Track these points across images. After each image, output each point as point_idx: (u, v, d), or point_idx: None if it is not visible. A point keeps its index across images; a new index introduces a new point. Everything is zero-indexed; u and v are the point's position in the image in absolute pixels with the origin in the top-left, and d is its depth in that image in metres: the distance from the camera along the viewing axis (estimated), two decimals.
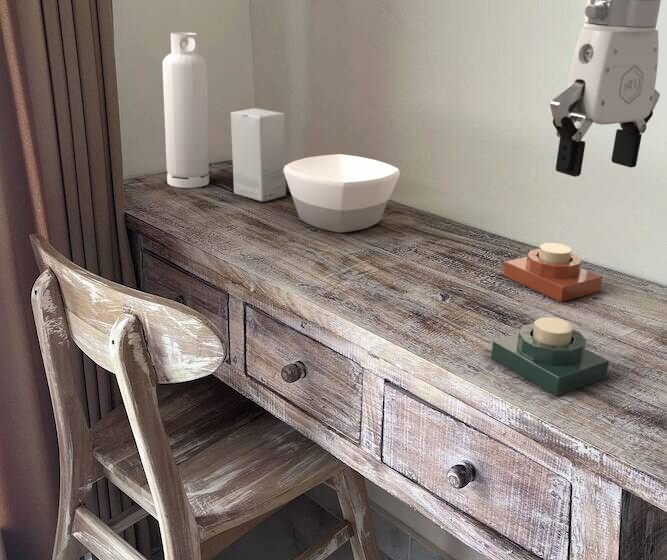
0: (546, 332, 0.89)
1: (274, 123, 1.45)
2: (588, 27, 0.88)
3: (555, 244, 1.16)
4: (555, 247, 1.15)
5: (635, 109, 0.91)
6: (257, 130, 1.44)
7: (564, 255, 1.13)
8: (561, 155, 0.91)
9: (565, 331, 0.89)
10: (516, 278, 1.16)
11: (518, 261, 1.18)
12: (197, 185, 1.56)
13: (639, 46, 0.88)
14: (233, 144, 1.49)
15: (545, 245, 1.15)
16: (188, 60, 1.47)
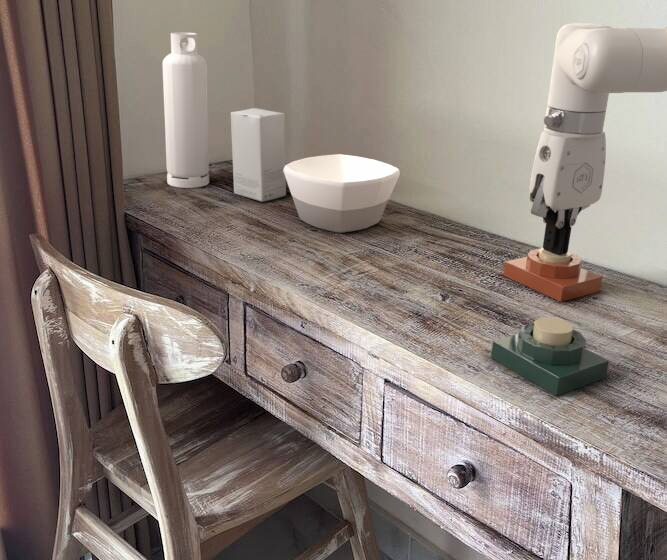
0: (546, 332, 0.89)
1: (274, 123, 1.45)
2: (547, 131, 1.07)
3: None
4: None
5: (586, 196, 1.10)
6: (257, 130, 1.44)
7: (564, 259, 1.13)
8: (547, 238, 1.13)
9: (565, 331, 0.89)
10: (516, 278, 1.16)
11: (518, 261, 1.18)
12: (197, 185, 1.56)
13: (588, 147, 1.07)
14: (233, 144, 1.49)
15: None
16: (188, 60, 1.47)
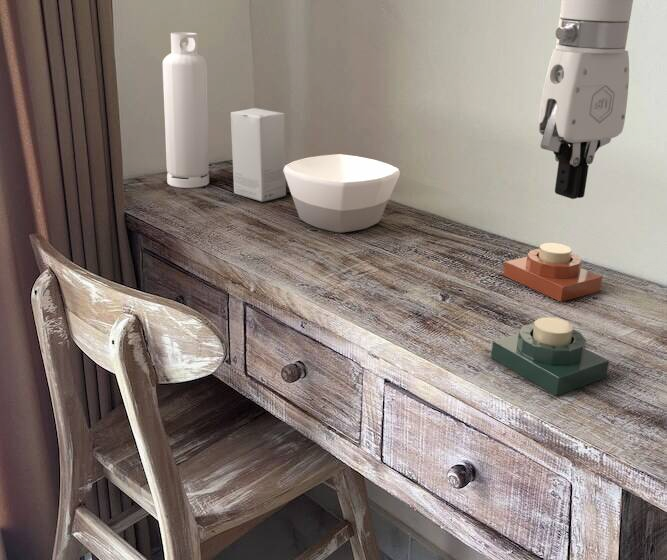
0: (546, 332, 0.89)
1: (274, 123, 1.45)
2: (559, 48, 0.91)
3: (555, 244, 1.16)
4: (555, 247, 1.15)
5: (606, 127, 0.93)
6: (257, 130, 1.44)
7: (564, 255, 1.13)
8: (560, 179, 0.97)
9: (565, 331, 0.89)
10: (516, 278, 1.16)
11: (518, 261, 1.18)
12: (197, 185, 1.56)
13: (609, 67, 0.90)
14: (233, 144, 1.49)
15: (545, 245, 1.15)
16: (188, 60, 1.47)
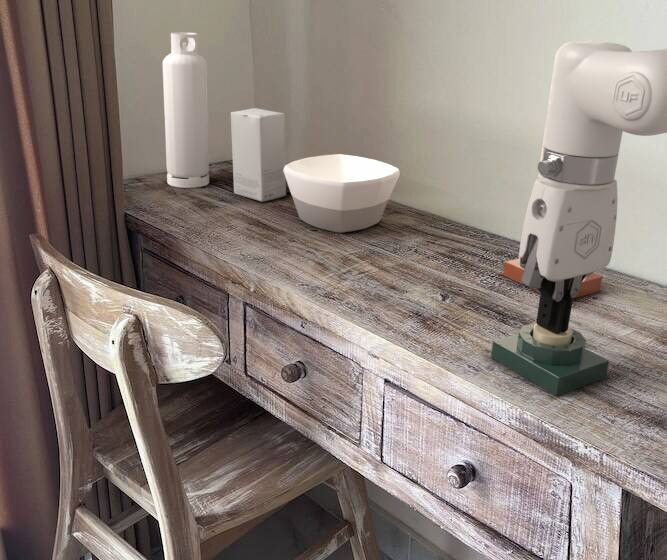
0: (545, 336, 0.89)
1: (274, 123, 1.45)
2: (542, 180, 0.83)
3: None
4: None
5: (592, 262, 0.86)
6: (257, 130, 1.44)
7: None
8: (541, 312, 0.89)
9: (565, 335, 0.89)
10: (516, 278, 1.16)
11: (518, 261, 1.18)
12: (197, 185, 1.56)
13: (595, 201, 0.83)
14: (233, 144, 1.49)
15: None
16: (188, 60, 1.47)
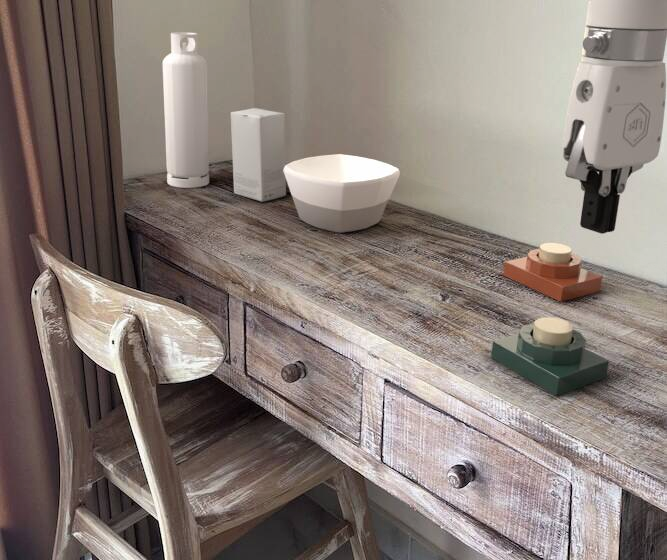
0: (546, 332, 0.89)
1: (274, 123, 1.45)
2: (586, 61, 0.78)
3: (555, 244, 1.16)
4: (555, 247, 1.15)
5: (641, 151, 0.80)
6: (257, 130, 1.44)
7: (564, 255, 1.13)
8: (586, 210, 0.84)
9: (565, 331, 0.89)
10: (516, 278, 1.16)
11: (518, 261, 1.18)
12: (197, 185, 1.56)
13: (644, 82, 0.77)
14: (233, 144, 1.49)
15: (545, 245, 1.15)
16: (188, 60, 1.47)
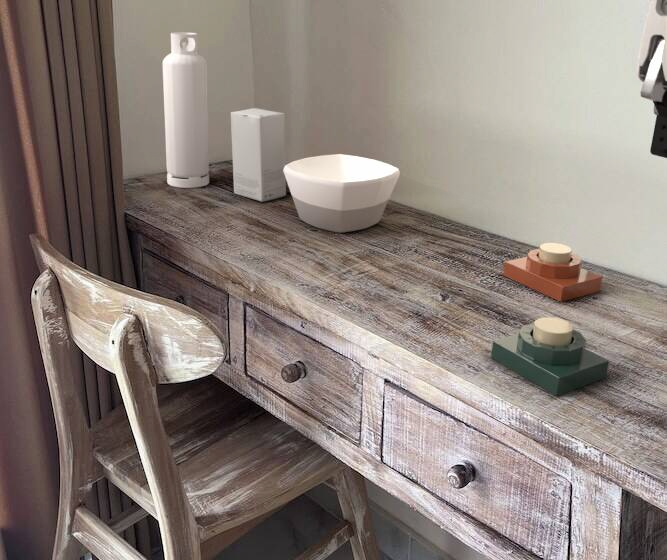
0: (546, 332, 0.89)
1: (274, 123, 1.45)
2: None
3: (555, 244, 1.16)
4: (555, 247, 1.15)
5: None
6: (257, 130, 1.44)
7: (564, 255, 1.13)
8: (659, 135, 0.80)
9: (565, 331, 0.89)
10: (516, 278, 1.16)
11: (518, 261, 1.18)
12: (197, 185, 1.56)
13: None
14: (233, 144, 1.49)
15: (545, 245, 1.15)
16: (188, 60, 1.47)
